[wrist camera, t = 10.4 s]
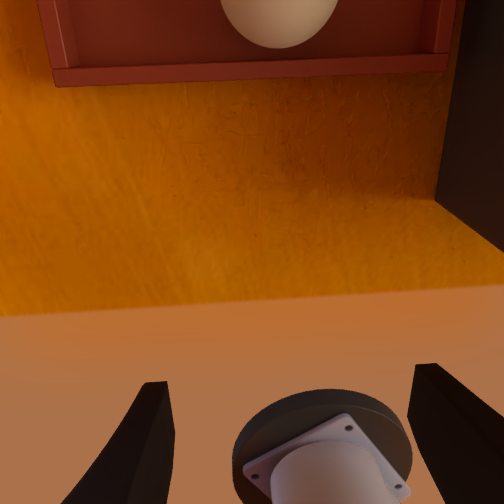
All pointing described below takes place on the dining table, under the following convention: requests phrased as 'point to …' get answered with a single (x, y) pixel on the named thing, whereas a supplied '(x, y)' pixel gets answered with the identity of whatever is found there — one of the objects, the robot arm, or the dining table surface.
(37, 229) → the dining table surface
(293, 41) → the ball
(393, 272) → the dining table surface
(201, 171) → the dining table surface
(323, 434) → the robot arm
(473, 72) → the box
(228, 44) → the tray
